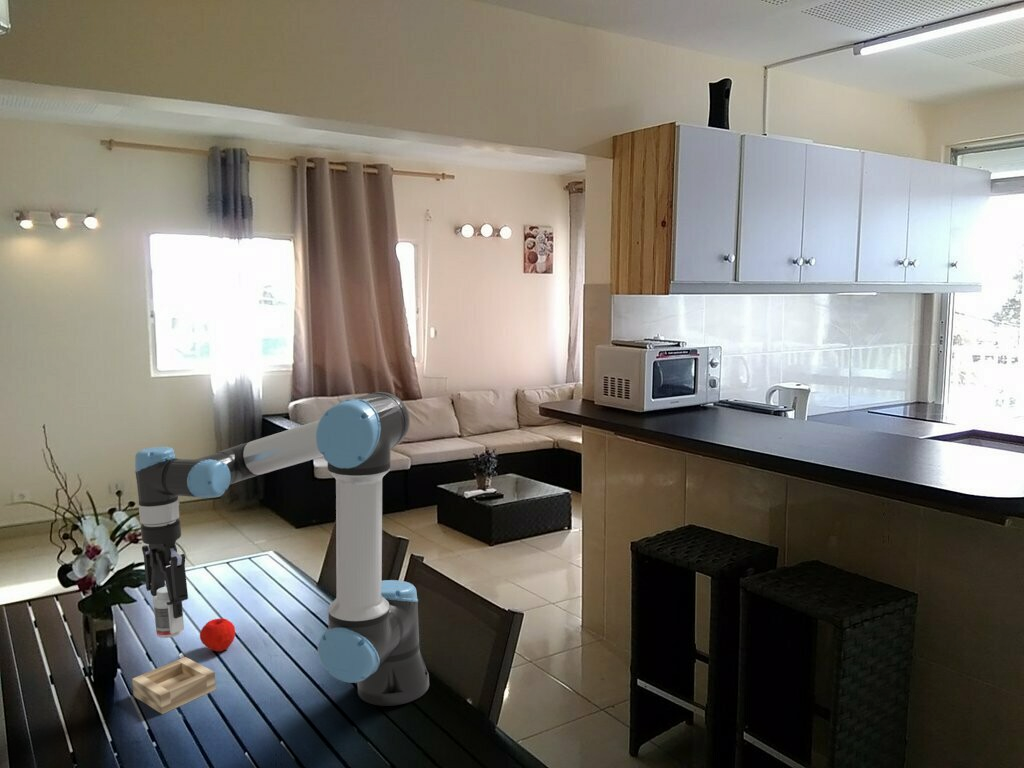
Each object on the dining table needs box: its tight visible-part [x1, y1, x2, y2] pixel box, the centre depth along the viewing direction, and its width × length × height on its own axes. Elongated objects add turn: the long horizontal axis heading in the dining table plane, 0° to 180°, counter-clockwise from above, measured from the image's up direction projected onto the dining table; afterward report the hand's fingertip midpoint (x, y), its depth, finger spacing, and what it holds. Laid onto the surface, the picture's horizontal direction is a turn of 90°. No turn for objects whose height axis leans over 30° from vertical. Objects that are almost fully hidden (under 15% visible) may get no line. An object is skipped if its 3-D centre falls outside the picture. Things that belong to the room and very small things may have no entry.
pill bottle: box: [153, 585, 184, 639], centre depth 165 cm, size 5×5×10 cm
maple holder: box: [131, 656, 217, 715], centre depth 167 cm, size 12×12×4 cm
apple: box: [199, 617, 236, 652], centre depth 187 cm, size 8×8×7 cm
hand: (169, 627), depth 166 cm, fingers closed on pill bottle, 5 cm apart
